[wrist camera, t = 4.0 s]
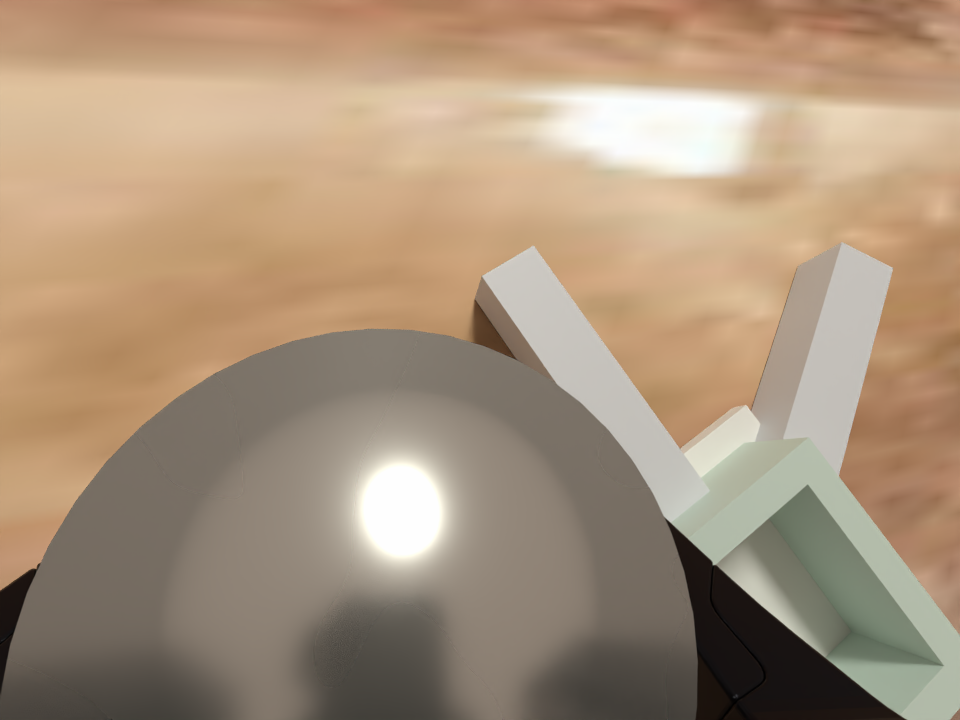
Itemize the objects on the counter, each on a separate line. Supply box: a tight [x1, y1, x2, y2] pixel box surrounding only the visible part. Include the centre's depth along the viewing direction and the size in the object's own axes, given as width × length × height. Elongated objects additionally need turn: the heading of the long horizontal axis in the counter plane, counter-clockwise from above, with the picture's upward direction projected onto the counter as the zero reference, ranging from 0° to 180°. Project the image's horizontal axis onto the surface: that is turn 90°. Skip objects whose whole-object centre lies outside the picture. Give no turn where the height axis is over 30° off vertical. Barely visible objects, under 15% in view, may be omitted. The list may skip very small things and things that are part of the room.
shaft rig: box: [475, 242, 960, 720], centre depth 16 cm, size 19×18×4 cm
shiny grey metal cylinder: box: [0, 329, 698, 720], centre depth 10 cm, size 4×4×14 cm
